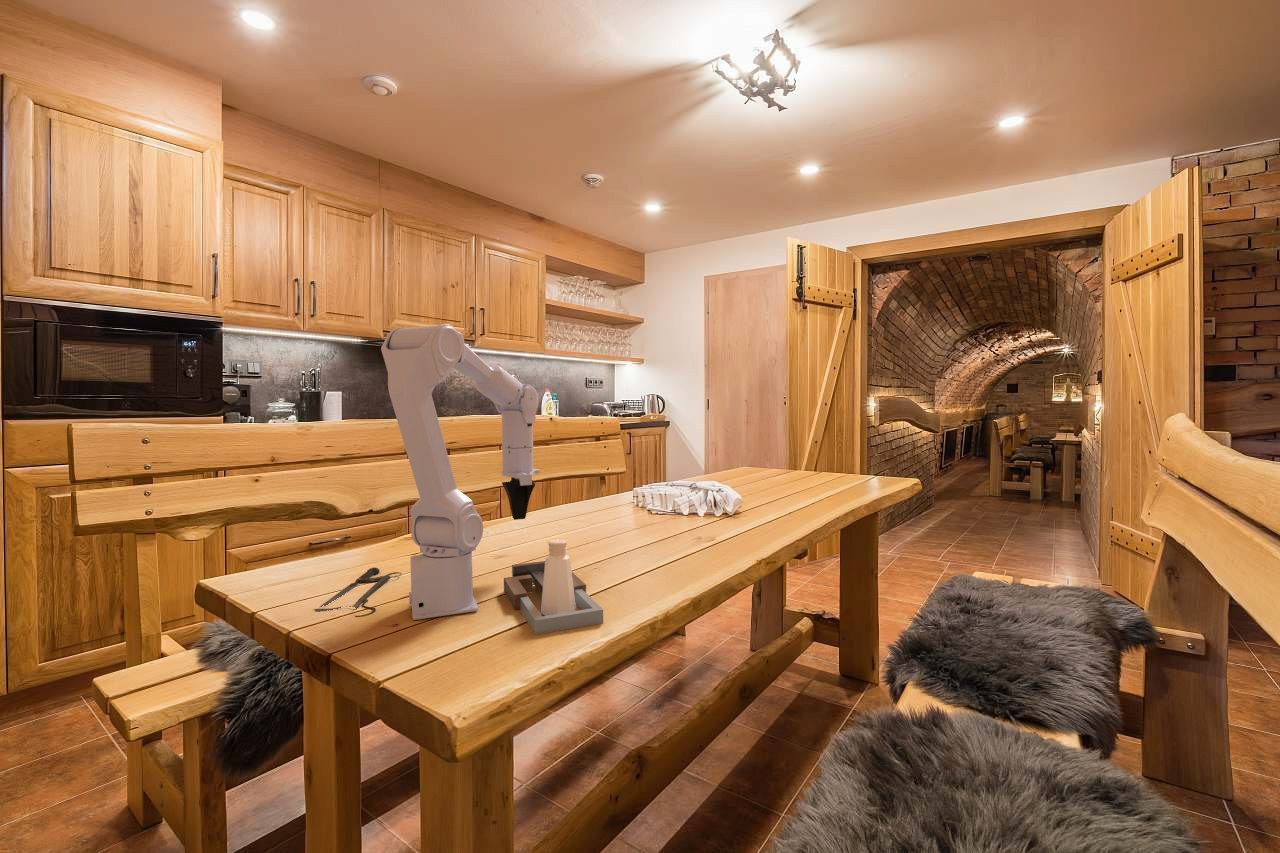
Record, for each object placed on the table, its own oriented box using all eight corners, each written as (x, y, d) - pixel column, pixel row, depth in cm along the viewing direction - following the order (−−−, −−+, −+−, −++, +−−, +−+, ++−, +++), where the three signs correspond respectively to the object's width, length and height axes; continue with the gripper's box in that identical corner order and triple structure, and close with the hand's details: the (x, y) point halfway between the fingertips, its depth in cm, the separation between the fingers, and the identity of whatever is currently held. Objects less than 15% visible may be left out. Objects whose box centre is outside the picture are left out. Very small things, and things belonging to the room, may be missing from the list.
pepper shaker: (539, 618, 85) (538, 545, 85) (542, 606, 91) (540, 537, 90) (576, 617, 86) (574, 544, 85) (576, 604, 91) (575, 536, 91)
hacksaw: (370, 573, 111) (370, 566, 111) (424, 572, 111) (424, 565, 111) (300, 620, 87) (300, 610, 87) (369, 619, 87) (369, 609, 87)
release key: (529, 606, 87) (529, 588, 87) (512, 580, 100) (511, 564, 100) (579, 598, 90) (579, 581, 90) (556, 574, 103) (556, 559, 103)
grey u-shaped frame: (535, 634, 79) (535, 620, 79) (520, 610, 89) (520, 597, 89) (603, 623, 83) (603, 609, 83) (581, 600, 93) (581, 588, 93)
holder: (514, 610, 89) (514, 594, 89) (504, 592, 98) (503, 577, 98) (586, 599, 93) (586, 584, 93) (569, 583, 102) (569, 569, 102)
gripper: (548, 448, 103) (549, 523, 103) (530, 444, 116) (531, 510, 117) (508, 450, 100) (509, 527, 101) (495, 445, 113) (496, 513, 114)
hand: (519, 518), depth 109 cm, fingers closed
